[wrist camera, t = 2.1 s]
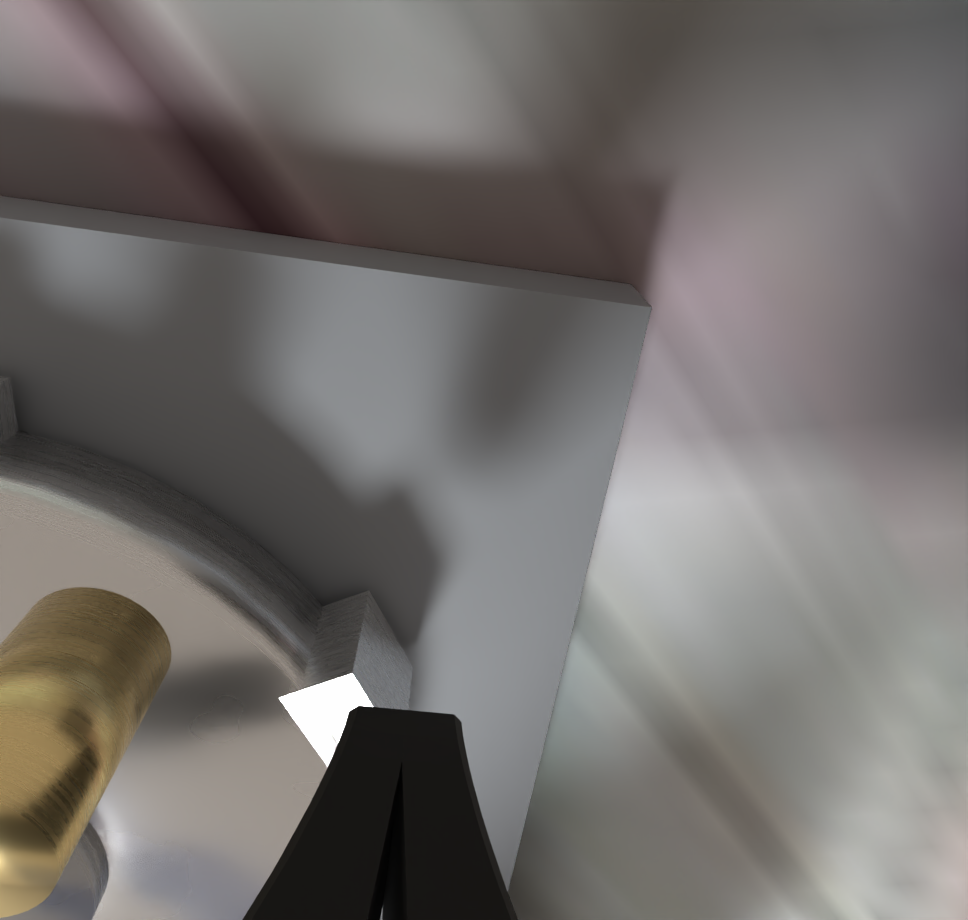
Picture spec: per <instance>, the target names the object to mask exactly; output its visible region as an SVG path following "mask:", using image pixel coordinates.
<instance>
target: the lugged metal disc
mask: <svg viewBox="0 0 968 920" xmlns="http://www.w3.org/2000/svg"><path fill="white" fill-rule="evenodd" d="M412 668H413V665H412V664H411V662H410V660H409V658H408V657H407V655H406V653H405V651H404V650H403V648H402V646H401V645H400V643H399V641H398V639H397V638H396V636H395V634H394V633H393V631H392V629H391V627H390V626H389V624H388V622H387V621H386V619H385V617H384V615H383V614H382V612H381V610H380V609H379V607H378V605H377V603H376V602H375V600H374V598H373V597H372V595H371V593H370V591H369V590H368V591H365V592H362V593H360V594H357V595H354V596H351V597H348V598H345V599H342V600H340V601H337V602H334V603H331V604H328V605H325V606H323V605H322V604H321V603H320V602H319V601H318V600H317V599H316V597H315V596H314V595H313V594H312V593H311V592H310V591H309V590H308V589H307V588H306V587H305V586H304V585H303V584H302V583H301V582H300V581H299V579H298V578H297V577H296V576H295V575H294V574H293V573H292V572H291V571H290V570H289V569H288V568H287V567H286V566H285V565H283V564H282V563H281V562H280V561H279V560H277V559H276V558H275V557H274V556H273V555H271V554H270V553H269V552H268V551H267V550H265V549H264V548H263V547H262V546H261V545H259V544H258V543H257V542H256V541H255V540H253V539H252V538H251V537H250V536H249V535H247V534H246V533H245V532H243V531H242V530H240V529H239V528H237V527H236V526H234V525H233V524H231V523H229V522H228V521H226V520H225V519H223V518H222V517H220V516H219V515H217V514H216V513H214V512H213V511H211V510H210V509H208V508H207V507H205V506H204V505H202V504H201V503H199V502H198V501H196V500H194V499H192V498H190V497H188V496H186V495H184V494H182V493H181V492H179V491H177V490H175V489H173V488H171V487H169V486H167V485H165V484H163V483H161V482H159V481H157V480H155V479H154V478H152V477H150V476H148V475H146V474H144V473H142V472H139V471H137V470H134V469H132V468H129V467H127V466H124V465H122V464H119V463H117V462H114V461H111V460H109V459H106V458H104V457H101V456H99V455H96V454H94V453H91V452H89V451H86V450H84V449H80V448H77V447H73V446H70V445H66V444H63V443H59V442H56V441H52V440H48V439H45V438H41V437H38V436H34V435H31V434H27V433H24V432H20V431H18V425H17V418H16V412H15V405H14V398H13V392H12V385H11V379H10V377H2V376H0V920H242V919H243V918H244V916H245V915H246V913H247V911H248V910H249V908H250V907H251V905H252V903H253V902H254V900H255V898H256V897H257V895H258V894H259V892H260V890H261V889H262V887H263V886H264V884H265V882H266V881H267V879H268V878H269V876H270V874H271V873H272V871H273V869H274V868H275V866H276V864H277V862H278V861H279V859H280V857H281V855H282V854H283V852H284V850H285V848H286V846H287V844H288V843H289V841H290V839H291V837H292V835H293V833H294V832H295V830H296V828H297V826H298V824H299V823H300V821H301V819H302V817H303V815H304V813H305V812H306V810H307V808H308V806H309V804H310V802H311V800H312V798H313V796H314V794H315V792H316V790H317V788H318V786H319V784H320V782H321V780H322V778H323V776H324V774H325V772H326V770H327V767H328V765H329V763H330V761H331V759H332V756H333V754H334V752H335V749H336V747H337V744H338V742H339V739H340V737H341V734H342V732H343V729H344V726H345V722H346V719H347V716H348V713H349V711H351V710H352V709H354V708H355V707H357V706H369V707H380V708H391V709H402V710H409V699H410V689H411V678H412ZM381 914H382V911H381ZM380 920H381V917H380Z"/></svg>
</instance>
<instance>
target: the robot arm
mask: <svg viewBox="0 0 968 920" xmlns="http://www.w3.org/2000/svg"><path fill="white" fill-rule="evenodd" d="M382 906H383V913H382V920H518V919H517V916H516V913H515V911H514V908H513V905H512V903H511V900H510V897H509V895H508V892H507V889H506V886H505V883H504V880H503V877H502V874H501V872H500V869H499V866H498V863H497V860H496V857H495V854H494V851H493V848H492V845H491V842H490V839H489V836H488V833H487V830H486V826H485V823H484V820H483V817H482V813H481V810H480V806H479V802H478V799H477V795H476V791H475V788H474V784H473V780H472V776H471V772H470V768H469V763H468V759H467V754H466V749H465V743H464V738H463V731H462V722H461V721H460V720H459V719H458V718H457V717H456V716H455V715H454V714H446V713H435V712H424V711H413V710H402V709H391V708H380V707H369V706H357V707H355V708H354V709H352V710H351V711H349V713H348V716H347V719H346V722H345V726H344V729H343V732H342V734H341V737H340V739H339V742H338V744H337V747H336V749H335V752H334V754H333V756H332V759H331V761H330V763H329V765H328V767H327V770H326V772H325V774H324V776H323V778H322V780H321V782H320V784H319V786H318V788H317V790H316V792H315V794H314V796H313V798H312V800H311V802H310V804H309V806H308V808H307V810H306V812H305V813H304V815H303V817H302V819H301V821H300V823H299V824H298V826H297V828H296V830H295V832H294V833H293V835H292V837H291V839H290V841H289V843H288V844H287V846H286V848H285V850H284V852H283V854H282V855H281V857H280V859H279V861H278V862H277V864H276V866H275V868H274V869H273V871H272V873H271V874H270V876H269V878H268V879H267V881H266V882H265V884H264V886H263V887H262V889H261V890H260V892H259V894H258V895H257V897H256V898H255V900H254V902H253V903H252V905H251V907H250V908H249V910H248V911H247V913H246V915H245V916H244V918H243V919H242V920H380V917H381V911H382Z"/></svg>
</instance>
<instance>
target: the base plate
mask: <svg viewBox="0 0 968 920" xmlns="http://www.w3.org/2000/svg"><path fill="white" fill-rule="evenodd" d="M651 309H652V307H651V306H650V305H649V304H648V303H647V302H646V300H645V299H644V298H643V297H642V296H641V295H640V294H639V293H638V292H637V290H636V289H635V288H634V287H633V286H632V285H631V284H625V283H618V282H611V281H604V280H597V279H590V278H583V277H576V276H568V275H561V274H554V273H547V272H540V271H533V270H526V269H519V268H511V267H504V266H497V265H490V264H483V263H476V262H469V261H462V260H454V259H447V258H440V257H433V256H426V255H419V254H412V253H405V252H397V251H390V250H383V249H376V248H369V247H362V246H355V245H348V244H341V243H333V242H326V241H319V240H312V239H305V238H298V237H291V236H284V235H276V234H269V233H262V232H255V231H248V230H241V229H234V228H227V227H219V226H212V225H205V224H198V223H191V222H184V221H177V220H170V219H162V218H155V217H148V216H141V215H134V214H127V213H120V212H113V211H106V210H98V209H91V208H84V207H77V206H70V205H63V204H56V203H49V202H41V201H34V200H27V199H20V198H13V197H6V196H0V376H2V377H10V379H11V385H12V392H13V398H14V405H15V412H16V418H17V425H18V431H20V432H24V433H27V434H31V435H34V436H38V437H41V438H45V439H48V440H52V441H56V442H59V443H63V444H66V445H70V446H73V447H77V448H80V449H84V450H86V451H89V452H91V453H94V454H96V455H99V456H101V457H104V458H106V459H109V460H111V461H114V462H117V463H119V464H122V465H124V466H127V467H129V468H132V469H134V470H137V471H139V472H142V473H144V474H146V475H148V476H150V477H152V478H154V479H155V480H157V481H159V482H161V483H163V484H165V485H167V486H169V487H171V488H173V489H175V490H177V491H179V492H181V493H182V494H184V495H186V496H188V497H190V498H192V499H194V500H196V501H198V502H199V503H201V504H202V505H204V506H205V507H207V508H208V509H210V510H211V511H213V512H214V513H216V514H217V515H219V516H220V517H222V518H223V519H225V520H226V521H228V522H229V523H231V524H233V525H234V526H236V527H237V528H239V529H240V530H242V531H243V532H245V533H246V534H247V535H249V536H250V537H251V538H252V539H253V540H255V541H256V542H257V543H258V544H259V545H261V546H262V547H263V548H264V549H265V550H267V551H268V552H269V553H270V554H271V555H273V556H274V557H275V558H276V559H277V560H279V561H280V562H281V563H282V564H283V565H285V566H286V567H287V568H288V569H289V570H290V571H291V572H292V573H293V574H294V575H295V576H296V577H297V578H298V579H299V581H300V582H301V583H302V584H303V585H304V586H305V587H306V588H307V589H308V590H309V591H310V592H311V593H312V594H313V595H314V596H315V597H316V599H317V600H318V601H319V602H320V603H321V604H322V605H323V606H325V605H328V604H331V603H334V602H337V601H340V600H342V599H345V598H348V597H351V596H354V595H357V594H360V593H362V592H365V591H368V590H369V591H370V593H371V595H372V597H373V598H374V600H375V602H376V603H377V605H378V607H379V609H380V610H381V612H382V614H383V615H384V617H385V619H386V621H387V622H388V624H389V626H390V627H391V629H392V631H393V633H394V634H395V636H396V638H397V639H398V641H399V643H400V645H401V646H402V648H403V650H404V651H405V653H406V655H407V657H408V658H409V660H410V662H411V664H412V665H413V668H412V678H411V689H410V699H409V710H413V711H424V712H435V713H446V714H454V715H455V716H456V717H457V718H458V719H459V720H460V721H461V722H462V731H463V738H464V743H465V749H466V754H467V759H468V763H469V768H470V772H471V776H472V780H473V784H474V788H475V791H476V795H477V799H478V802H479V806H480V810H481V813H482V817H483V820H484V823H485V826H486V830H487V833H488V836H489V839H490V842H491V845H492V848H493V851H494V854H495V857H496V860H497V863H498V866H499V869H500V872H501V874H502V877H503V880H504V883H505V886H506V889H507V892H508V889H509V885H510V881H511V877H512V873H513V869H514V865H515V861H516V857H517V853H518V849H519V845H520V841H521V837H522V833H523V829H524V825H525V820H526V816H527V812H528V808H529V804H530V800H531V796H532V792H533V788H534V784H535V780H536V776H537V772H538V768H539V764H540V760H541V756H542V751H543V747H544V743H545V739H546V735H547V731H548V727H549V723H550V719H551V715H552V711H553V707H554V703H555V699H556V695H557V691H558V687H559V682H560V678H561V674H562V670H563V666H564V662H565V658H566V654H567V650H568V646H569V642H570V638H571V634H572V630H573V626H574V622H575V618H576V613H577V609H578V605H579V601H580V597H581V593H582V589H583V585H584V581H585V577H586V573H587V569H588V565H589V561H590V557H591V553H592V549H593V545H594V540H595V536H596V532H597V528H598V524H599V520H600V516H601V512H602V508H603V504H604V500H605V496H606V492H607V488H608V484H609V480H610V476H611V471H612V467H613V463H614V459H615V455H616V451H617V447H618V443H619V439H620V435H621V431H622V427H623V423H624V419H625V415H626V411H627V407H628V402H629V398H630V394H631V390H632V386H633V382H634V378H635V374H636V370H637V366H638V362H639V358H640V354H641V350H642V346H643V342H644V338H645V333H646V329H647V325H648V321H649V317H650V313H651ZM382 913H383V906H382ZM381 920H382V914H381Z"/></svg>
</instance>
